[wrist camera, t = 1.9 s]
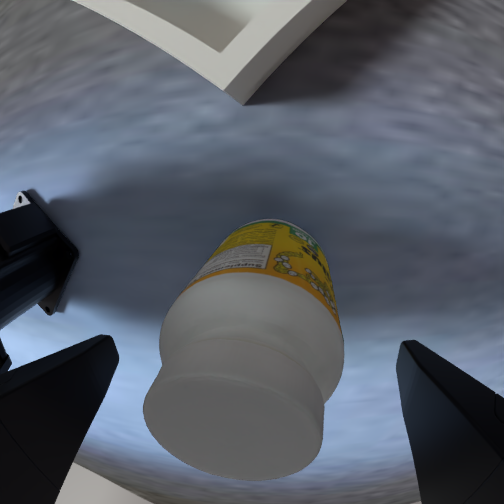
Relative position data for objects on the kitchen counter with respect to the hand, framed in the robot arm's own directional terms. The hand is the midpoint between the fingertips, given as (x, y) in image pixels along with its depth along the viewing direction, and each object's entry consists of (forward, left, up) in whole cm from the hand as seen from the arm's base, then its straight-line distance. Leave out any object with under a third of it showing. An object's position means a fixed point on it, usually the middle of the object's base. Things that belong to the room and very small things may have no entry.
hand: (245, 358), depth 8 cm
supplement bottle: (0, 0, -7) cm, 7 cm away
